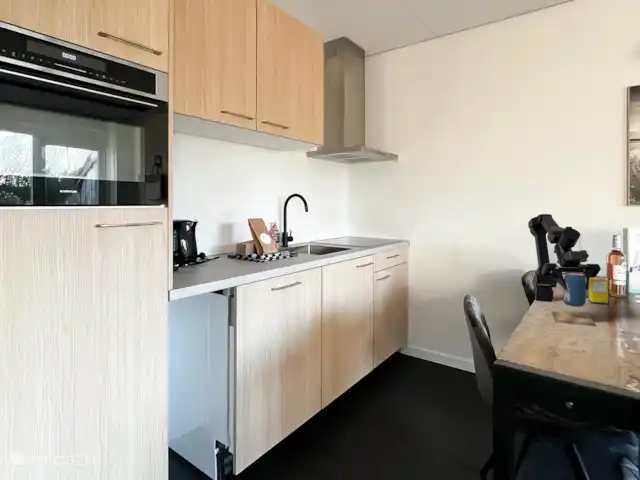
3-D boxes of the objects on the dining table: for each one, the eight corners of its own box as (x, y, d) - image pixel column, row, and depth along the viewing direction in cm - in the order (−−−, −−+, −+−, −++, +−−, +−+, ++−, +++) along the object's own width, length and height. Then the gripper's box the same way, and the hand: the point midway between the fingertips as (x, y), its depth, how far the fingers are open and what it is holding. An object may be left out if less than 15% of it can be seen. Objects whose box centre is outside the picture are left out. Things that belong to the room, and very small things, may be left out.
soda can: (587, 304, 141) (589, 273, 140) (582, 308, 137) (583, 276, 136) (566, 301, 147) (567, 271, 145) (560, 305, 142) (561, 273, 141)
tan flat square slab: (555, 321, 140) (555, 319, 139) (551, 313, 150) (551, 311, 150) (594, 325, 134) (594, 323, 134) (587, 317, 145) (588, 314, 145)
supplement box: (604, 301, 168) (605, 277, 167) (607, 304, 162) (609, 280, 161) (588, 300, 170) (589, 276, 169) (591, 303, 165) (592, 279, 164)
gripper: (545, 242, 145) (555, 276, 136) (599, 242, 141) (614, 277, 132) (537, 259, 154) (546, 292, 144) (588, 260, 150) (601, 293, 140)
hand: (576, 288), depth 140 cm, fingers closed on soda can, 7 cm apart
